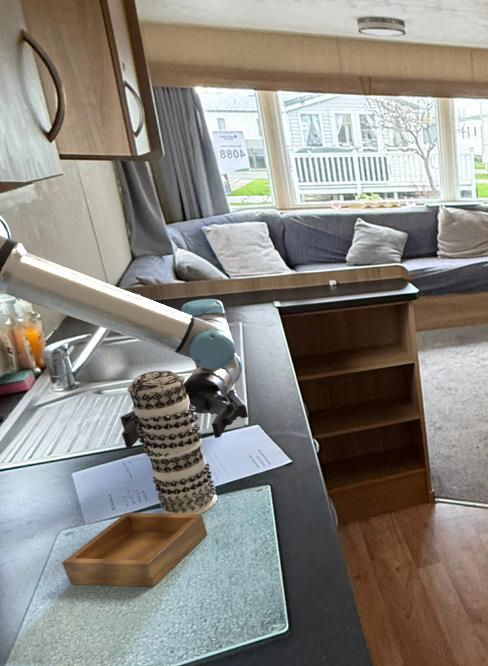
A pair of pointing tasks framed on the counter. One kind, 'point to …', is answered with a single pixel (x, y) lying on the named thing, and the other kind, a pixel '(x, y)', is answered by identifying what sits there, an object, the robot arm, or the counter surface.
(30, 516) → the counter surface
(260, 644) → the counter surface
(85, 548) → the tray
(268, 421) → the counter surface
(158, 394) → the decorative candle
